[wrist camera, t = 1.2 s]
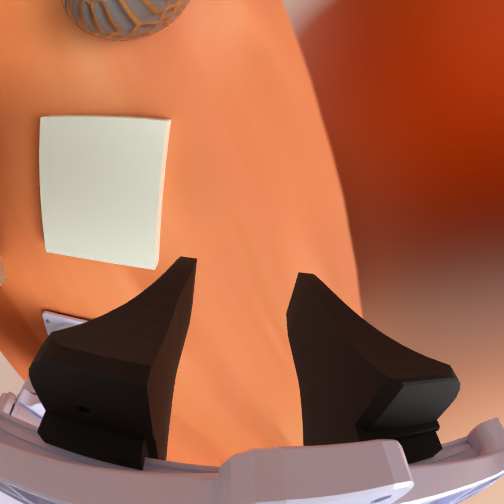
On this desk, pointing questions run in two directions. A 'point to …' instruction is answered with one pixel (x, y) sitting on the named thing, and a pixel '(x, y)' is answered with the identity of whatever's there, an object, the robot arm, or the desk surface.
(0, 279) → the shelf unit
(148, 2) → the vase
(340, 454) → the robot arm
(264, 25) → the desk surface
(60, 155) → the panel
